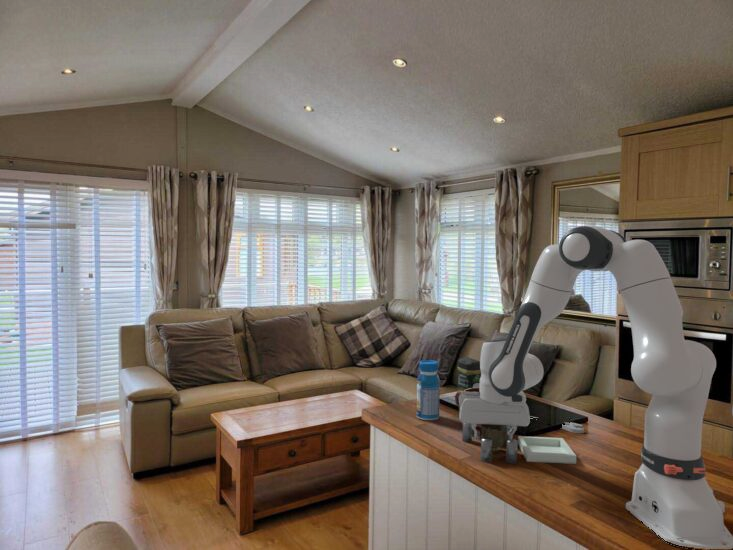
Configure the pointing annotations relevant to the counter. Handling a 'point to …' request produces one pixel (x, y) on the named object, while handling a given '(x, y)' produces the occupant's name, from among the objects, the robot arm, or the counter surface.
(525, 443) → the tray
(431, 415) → the beverage bottle
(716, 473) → the counter surface
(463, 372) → the coffee jar
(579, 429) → the adjustable wrench
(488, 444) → the spacer field
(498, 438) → the cup
